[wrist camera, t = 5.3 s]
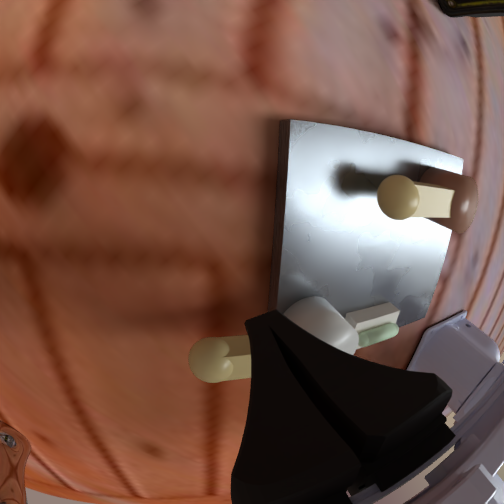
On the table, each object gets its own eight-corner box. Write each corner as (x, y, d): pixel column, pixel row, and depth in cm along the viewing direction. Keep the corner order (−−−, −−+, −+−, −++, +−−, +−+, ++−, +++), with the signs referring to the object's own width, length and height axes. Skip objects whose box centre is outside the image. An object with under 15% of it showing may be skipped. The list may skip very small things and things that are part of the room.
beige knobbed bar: (448, 170, 15) (484, 181, 12) (440, 218, 17) (474, 234, 14) (358, 152, 13) (404, 161, 10) (350, 219, 14) (391, 241, 11)
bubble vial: (389, 302, 18) (408, 317, 16) (380, 328, 19) (397, 344, 17) (346, 313, 17) (364, 331, 15) (338, 341, 18) (355, 360, 16)
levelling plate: (451, 156, 17) (463, 159, 15) (416, 310, 22) (424, 317, 21) (280, 120, 12) (290, 119, 11) (264, 352, 18) (270, 364, 17)
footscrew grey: (338, 293, 16) (370, 325, 13) (323, 340, 17) (349, 374, 14) (183, 303, 13) (191, 348, 10) (183, 357, 14) (192, 402, 11)
